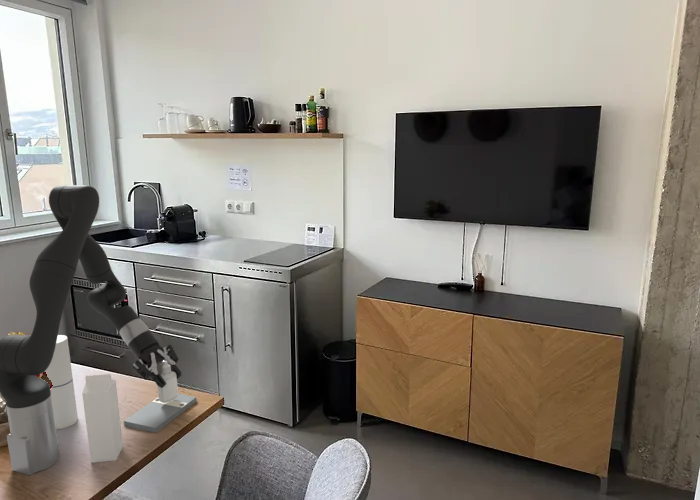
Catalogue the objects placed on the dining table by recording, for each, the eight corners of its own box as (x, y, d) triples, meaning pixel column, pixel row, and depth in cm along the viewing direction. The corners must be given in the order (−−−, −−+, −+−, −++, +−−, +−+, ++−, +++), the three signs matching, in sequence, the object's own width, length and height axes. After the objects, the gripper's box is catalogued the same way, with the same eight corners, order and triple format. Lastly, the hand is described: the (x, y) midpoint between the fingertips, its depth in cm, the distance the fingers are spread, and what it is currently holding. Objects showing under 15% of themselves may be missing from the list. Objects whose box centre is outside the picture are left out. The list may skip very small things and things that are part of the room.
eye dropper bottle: (179, 399, 147) (176, 362, 145) (159, 404, 145) (156, 366, 142) (177, 393, 151) (174, 357, 149) (158, 397, 149) (154, 360, 146)
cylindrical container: (55, 432, 136) (43, 347, 131) (44, 423, 140) (32, 340, 135) (82, 420, 141) (71, 338, 136) (71, 412, 146) (60, 333, 141)
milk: (99, 449, 128) (89, 370, 124) (123, 446, 129) (114, 368, 125) (90, 463, 122) (80, 381, 118) (116, 461, 123) (106, 379, 119)
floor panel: (156, 432, 135) (155, 427, 135) (124, 425, 139) (123, 420, 138) (196, 401, 152) (196, 396, 151) (167, 395, 155) (166, 390, 155)
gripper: (124, 339, 140) (159, 385, 138) (162, 322, 153) (195, 365, 151) (113, 353, 144) (147, 399, 141) (151, 336, 156) (182, 377, 154)
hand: (171, 381), depth 146 cm, fingers closed on eye dropper bottle, 5 cm apart
